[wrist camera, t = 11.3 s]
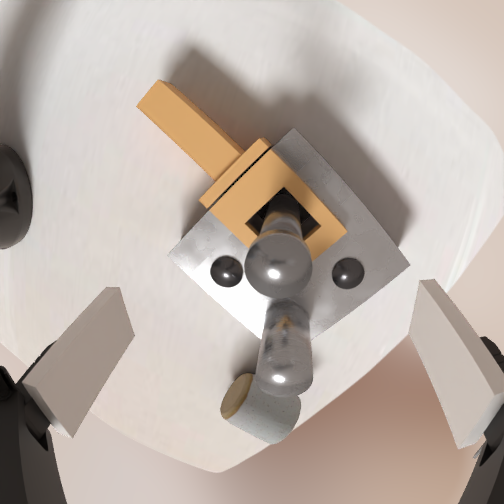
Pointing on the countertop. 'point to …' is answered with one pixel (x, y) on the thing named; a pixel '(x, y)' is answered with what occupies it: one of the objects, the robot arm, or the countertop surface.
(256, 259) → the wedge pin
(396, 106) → the countertop surface
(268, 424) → the ceramic mug
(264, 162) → the bracket
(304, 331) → the grey latch block
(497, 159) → the countertop surface
